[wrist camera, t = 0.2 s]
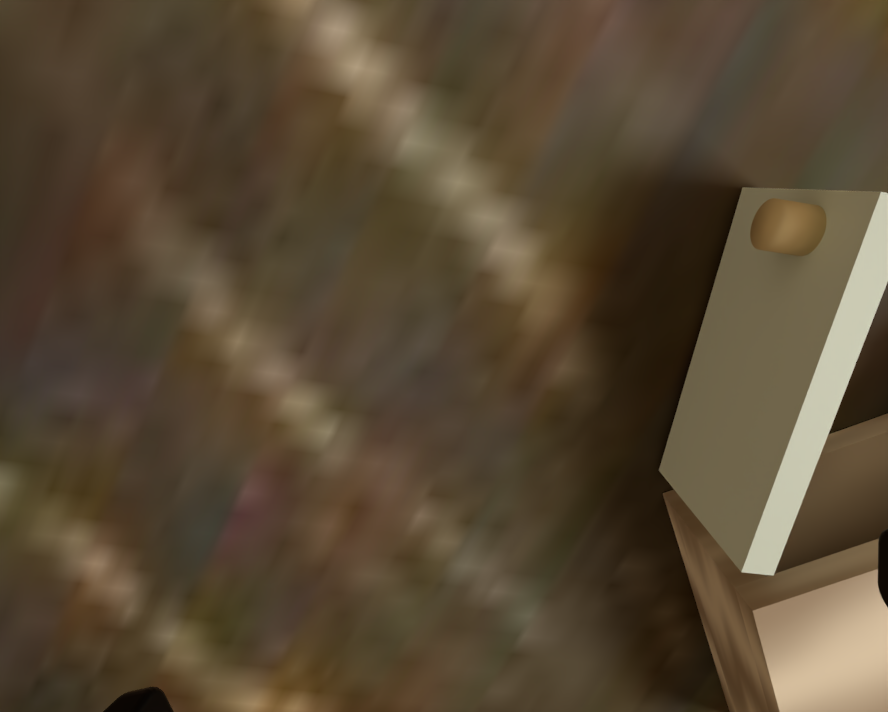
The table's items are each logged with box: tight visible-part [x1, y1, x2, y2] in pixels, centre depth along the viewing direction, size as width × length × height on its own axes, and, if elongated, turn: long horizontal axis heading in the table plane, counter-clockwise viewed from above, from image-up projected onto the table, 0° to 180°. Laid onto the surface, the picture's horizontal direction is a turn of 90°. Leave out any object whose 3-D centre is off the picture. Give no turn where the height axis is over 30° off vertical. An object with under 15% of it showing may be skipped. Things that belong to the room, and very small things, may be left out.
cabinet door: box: [659, 187, 888, 576], centre depth 18 cm, size 2×11×6 cm, turn 171°
